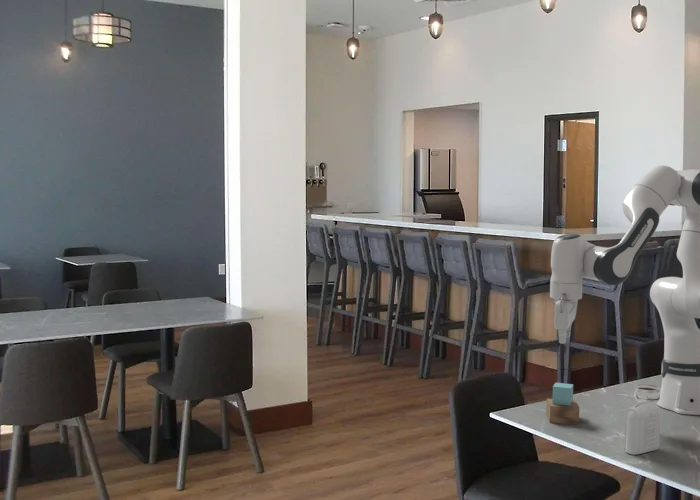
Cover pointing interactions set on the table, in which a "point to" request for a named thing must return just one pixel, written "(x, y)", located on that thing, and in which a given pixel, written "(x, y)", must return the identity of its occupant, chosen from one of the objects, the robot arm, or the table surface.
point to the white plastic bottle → (642, 428)
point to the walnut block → (562, 413)
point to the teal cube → (562, 394)
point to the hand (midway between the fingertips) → (564, 340)
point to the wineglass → (646, 393)
